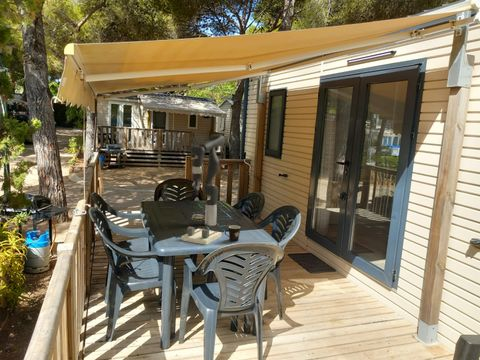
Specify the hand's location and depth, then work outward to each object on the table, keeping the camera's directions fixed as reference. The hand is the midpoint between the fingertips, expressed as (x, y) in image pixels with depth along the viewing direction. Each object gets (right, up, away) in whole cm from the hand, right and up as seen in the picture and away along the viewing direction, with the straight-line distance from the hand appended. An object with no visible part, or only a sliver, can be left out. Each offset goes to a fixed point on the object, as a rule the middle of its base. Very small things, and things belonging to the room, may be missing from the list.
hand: (196, 194), depth 291 cm
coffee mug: (+27, -33, -15) cm, 45 cm away
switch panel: (+5, -31, -13) cm, 34 cm away
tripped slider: (-2, -28, -17) cm, 33 cm away
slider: (+9, -29, -21) cm, 37 cm away
